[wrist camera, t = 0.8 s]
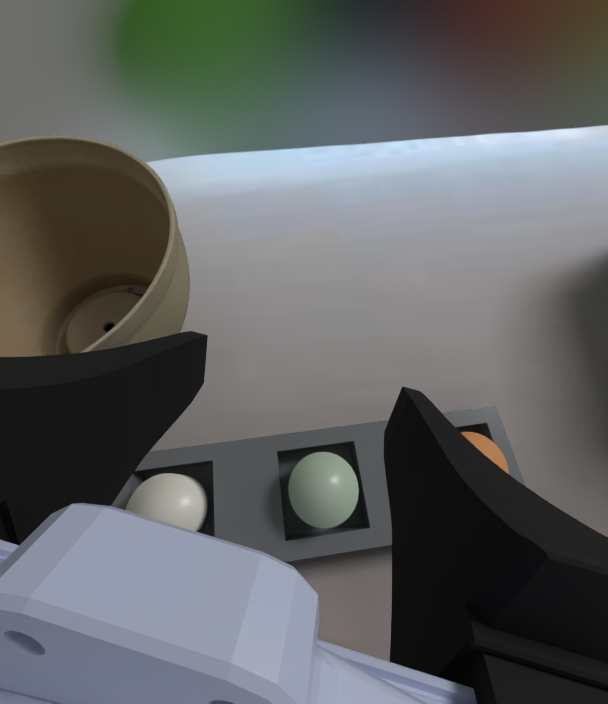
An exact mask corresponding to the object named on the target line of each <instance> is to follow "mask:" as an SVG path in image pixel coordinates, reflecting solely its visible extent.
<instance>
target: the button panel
mask: <svg viewBox="0 0 608 704" xmlns="http://www.w3.org/2000/svg"><path fill="white" fill-rule="evenodd" d="M442 414H443V415H444V416H445V417H446V418H447V419H448V420H449V421H450V422H451V423H452V424H453V425H454V426H455V428H456V429H457V430H458V431H460V432H474V433H478V434H481V435H483V436H485V437H487V438H488V439H490V440H491V441H492V442H494V443H495V444H496V445H497V447H498V448H499V449H500V450H501V452H502V453H503V455H504V457H505V459H506V462H507V465H508V470H509V475H510V476H512V477H513V478H514V479H516V480H517V481H518V482H520V483H521V484H523V485H524V486H525V484H524V481H523V479H522V476H521V473H520V471H519V468H518V465H517V462H516V460H515V457H514V454H513V451H512V449H511V446H510V443H509V440H508V438H507V435H506V432H505V430H504V427H503V424H502V421H501V419H500V416H499V413H498V410H497V408H496V406H492V407H485V408H477V409H470V410H462V411H455V412H447V413H442ZM388 421H389V420H387V421H379V422H372V423H364V424H357V425H349V426H342V427H334V428H327V429H319V430H312V431H304V432H297V433H289V434H282V435H274V436H267V437H259V438H252V439H244V440H237V441H229V442H222V443H214V444H207V445H199V446H192V447H184V448H177V449H169V450H162V451H154V452H148V453H147V455H146V456H145V457H144V458H143V460H142V461H141V463H140V464H139V465H138V467H137V468H136V470H135V471H134V473H133V474H132V475H131V477H130V478H129V480H128V481H127V483H126V484H125V486H124V487H123V489H122V490H121V492H120V493H119V495H118V496H117V498H116V499H115V501H114V502H113V504H112V505H111V506H112V507H116V508H119V509H122V510H126V507H127V504H128V501H129V499H130V497H131V496H132V494H133V493H134V491H135V490H136V489H137V488H138V487H139V486H140V485H141V484H142V483H143V482H144V481H146V480H147V479H149V478H151V477H153V476H156V475H158V474H164V473H172V474H183V475H188V476H190V477H193V478H194V479H196V480H197V481H198V482H199V483H200V484H201V485H202V486H203V488H204V490H205V492H206V495H207V499H208V512H207V516H206V520H205V522H204V524H203V526H202V528H201V529H200V531H199V533H202V534H205V535H209V536H212V537H215V538H219V539H222V540H225V541H229V542H232V543H235V544H239V545H242V546H245V547H249V548H252V549H255V550H259V551H262V552H264V553H266V554H269V555H271V556H273V557H275V558H277V559H279V560H281V561H283V562H288V561H295V560H301V559H307V558H313V557H319V556H326V555H332V554H338V553H344V552H350V551H357V550H363V549H369V548H375V547H381V546H388V545H392V525H391V513H390V505H389V497H388V489H387V481H386V473H385V464H384V431H385V429H386V426H387V424H388ZM316 452H329V453H333V454H336V455H338V456H340V457H341V458H343V459H344V460H345V461H346V462H347V463H348V464H349V465H350V466H351V468H352V469H353V471H354V473H355V475H356V478H357V481H358V488H359V494H358V500H357V504H356V507H355V509H354V511H353V512H352V514H351V515H350V516H349V517H348V519H347V520H345V521H344V522H343V523H341V524H339V525H337V526H335V527H331V528H317V527H314V526H311V525H309V524H307V523H306V522H304V521H303V520H302V519H301V518H300V517H299V516H298V515H297V514H296V512H295V511H294V509H293V507H292V505H291V502H290V499H289V491H288V487H289V480H290V476H291V474H292V471H293V469H294V468H295V466H296V465H297V464H298V463H299V462H300V461H301V460H302V459H303V458H304V457H306V456H308V455H310V454H313V453H316Z"/></svg>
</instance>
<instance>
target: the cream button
mask: <svg viewBox="0 0 608 704" xmlns="http://www.w3.org/2000/svg"><path fill="white" fill-rule="evenodd" d="M126 511H129V512H132V513H136V514H139V515H142V516H146V517H149V518H152V519H156V520H159V521H162V522H166V523H169V524H172V525H176V526H179V527H182V528H186V529H189V530H192V531H196V532H199V531H200V529H201V528H202V526H203V524H204V522H205V520H206V516H207V512H208V499H207V495H206V492H205V490H204V488H203V486H202V485H201V484H200V483H199V482H198V481H197V480H196V479H194V478H193V477H190V476H188V475H183V474H172V473H164V474H158V475H156V476H153V477H151V478H149V479H147V480H146V481H144V482H143V483H142V484H141V485H140V486H139V487H138V488H137V489H136V490H135V491H134V493H133V494H132V496H131V497H130V499H129V501H128V504H127V507H126Z"/></svg>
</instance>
